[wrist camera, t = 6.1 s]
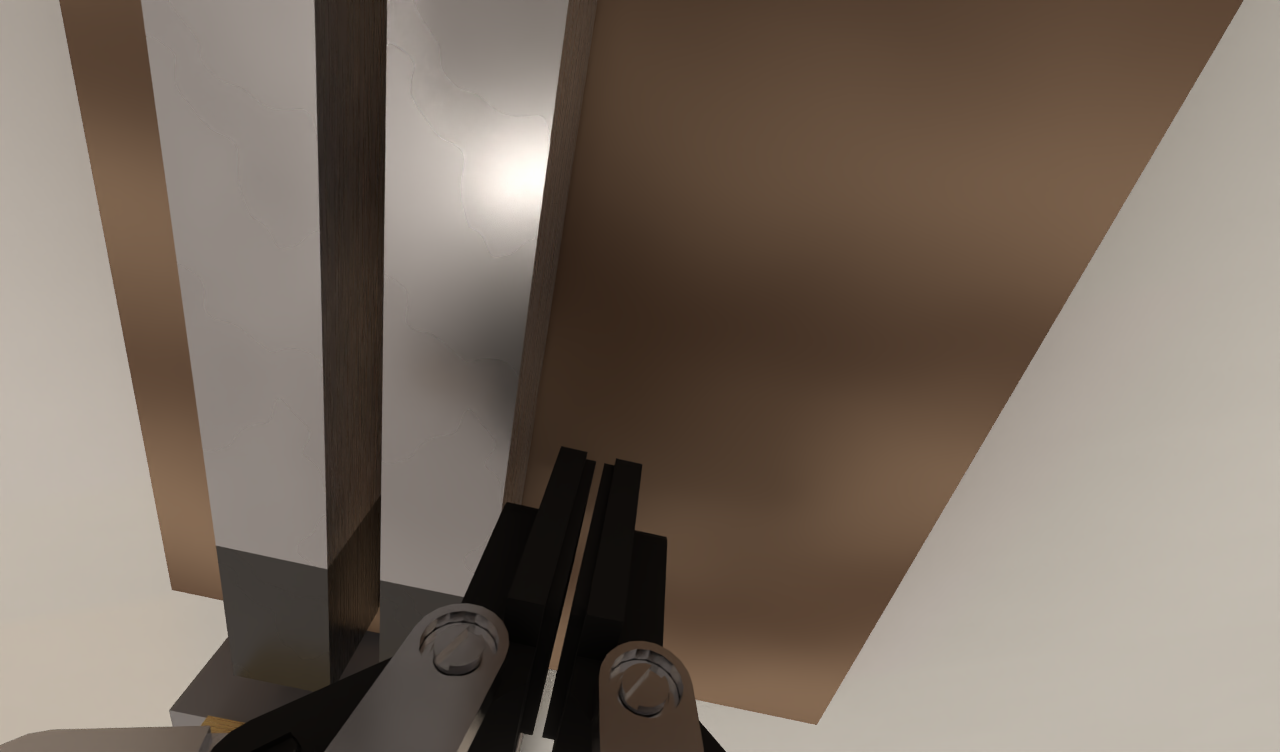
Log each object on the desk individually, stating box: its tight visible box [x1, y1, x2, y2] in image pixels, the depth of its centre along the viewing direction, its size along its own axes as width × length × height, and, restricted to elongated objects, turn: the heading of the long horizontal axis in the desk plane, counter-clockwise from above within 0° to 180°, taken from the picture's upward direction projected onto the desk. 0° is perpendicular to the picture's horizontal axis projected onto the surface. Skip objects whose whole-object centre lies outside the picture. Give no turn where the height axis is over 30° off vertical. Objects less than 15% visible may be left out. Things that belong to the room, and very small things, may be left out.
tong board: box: [59, 0, 1243, 725], centre depth 12 cm, size 24×18×1 cm
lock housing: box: [169, 631, 523, 752], centre depth 17 cm, size 6×8×4 cm
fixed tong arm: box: [141, 0, 387, 692], centre depth 10 cm, size 19×2×2 cm, turn 167°
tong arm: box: [379, 0, 597, 663], centre depth 9 cm, size 23×4×3 cm, turn 168°
